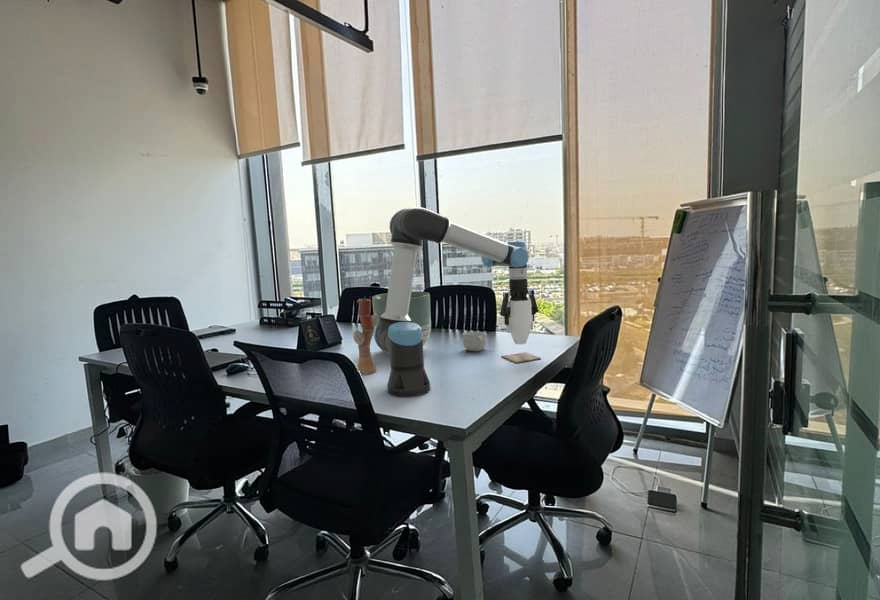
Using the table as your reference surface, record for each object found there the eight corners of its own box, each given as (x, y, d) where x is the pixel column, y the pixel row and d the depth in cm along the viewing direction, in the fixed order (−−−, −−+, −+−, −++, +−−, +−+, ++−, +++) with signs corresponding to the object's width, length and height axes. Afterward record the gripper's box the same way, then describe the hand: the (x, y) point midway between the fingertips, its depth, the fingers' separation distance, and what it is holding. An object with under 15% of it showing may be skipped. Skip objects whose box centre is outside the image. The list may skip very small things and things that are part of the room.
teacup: (461, 348, 228) (461, 331, 227) (484, 346, 229) (483, 330, 228) (466, 355, 214) (465, 337, 213) (490, 353, 215) (489, 335, 214)
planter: (408, 342, 246) (405, 290, 242) (444, 350, 226) (441, 293, 222) (365, 353, 228) (360, 297, 224) (399, 362, 208) (395, 300, 205)
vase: (356, 375, 191) (350, 301, 187) (355, 371, 198) (349, 299, 194) (383, 372, 193) (377, 298, 189) (381, 368, 200) (375, 296, 196)
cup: (527, 353, 196) (525, 301, 194) (504, 351, 202) (502, 301, 199) (536, 348, 205) (535, 298, 202) (514, 346, 211) (512, 297, 208)
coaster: (515, 363, 196) (515, 362, 196) (501, 357, 207) (501, 355, 207) (540, 359, 201) (540, 358, 200) (525, 353, 212) (525, 352, 212)
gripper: (498, 281, 192) (500, 335, 195) (546, 276, 200) (547, 329, 203) (489, 279, 199) (492, 332, 202) (536, 275, 207) (537, 326, 210)
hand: (520, 330), depth 202 cm, fingers closed on cup, 10 cm apart
